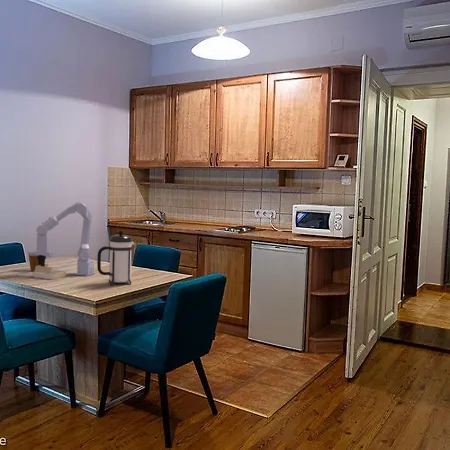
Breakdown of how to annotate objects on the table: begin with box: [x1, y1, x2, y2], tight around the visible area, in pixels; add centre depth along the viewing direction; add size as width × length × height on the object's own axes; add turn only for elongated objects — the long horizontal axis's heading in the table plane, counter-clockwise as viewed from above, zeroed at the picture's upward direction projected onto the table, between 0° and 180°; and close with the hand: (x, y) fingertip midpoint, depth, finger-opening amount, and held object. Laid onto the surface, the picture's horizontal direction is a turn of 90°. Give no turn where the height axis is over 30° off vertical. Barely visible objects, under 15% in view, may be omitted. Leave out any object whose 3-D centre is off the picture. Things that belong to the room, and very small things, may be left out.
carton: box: [32, 269, 67, 281], centre depth 286 cm, size 14×12×3 cm
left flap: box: [35, 266, 53, 273], centre depth 281 cm, size 10×4×1 cm
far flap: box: [33, 263, 49, 272], centre depth 287 cm, size 4×11×1 cm
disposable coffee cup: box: [27, 250, 38, 272], centre depth 303 cm, size 10×10×12 cm
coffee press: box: [96, 230, 136, 286], centre depth 273 cm, size 17×16×30 cm
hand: (41, 268), depth 287 cm, fingers closed
